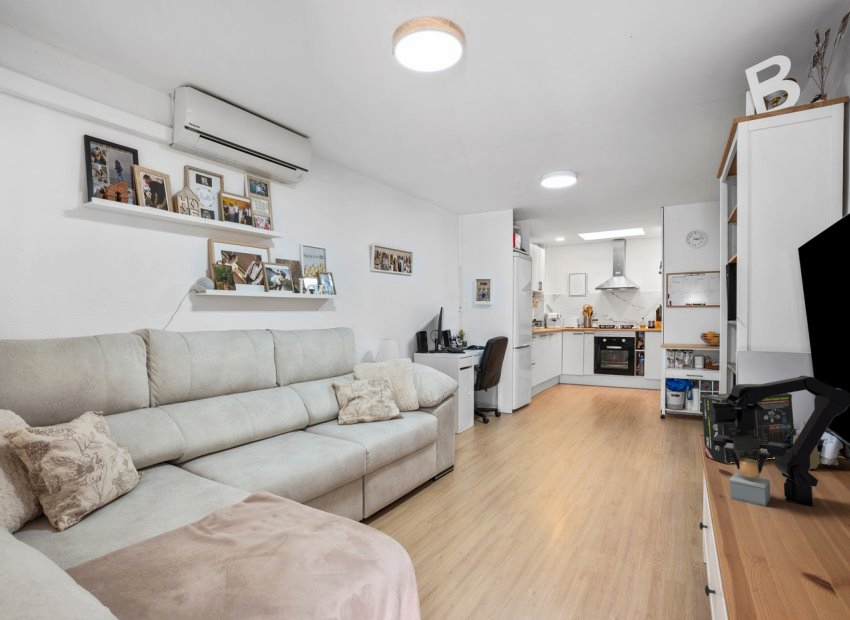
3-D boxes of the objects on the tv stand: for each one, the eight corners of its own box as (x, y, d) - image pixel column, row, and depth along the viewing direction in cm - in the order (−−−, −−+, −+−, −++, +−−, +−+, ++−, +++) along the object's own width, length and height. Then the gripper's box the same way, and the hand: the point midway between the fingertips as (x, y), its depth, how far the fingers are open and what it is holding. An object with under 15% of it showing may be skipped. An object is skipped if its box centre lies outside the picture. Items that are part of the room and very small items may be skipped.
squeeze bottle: (787, 466, 167) (785, 420, 167) (799, 463, 170) (796, 418, 170) (813, 472, 159) (810, 424, 160) (824, 469, 162) (821, 422, 163)
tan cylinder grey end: (761, 474, 139) (760, 460, 139) (758, 478, 135) (757, 464, 135) (741, 470, 143) (740, 457, 143) (738, 475, 139) (737, 461, 139)
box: (770, 498, 139) (769, 481, 139) (765, 506, 132) (764, 489, 133) (737, 490, 145) (736, 474, 145) (731, 498, 139) (730, 481, 139)
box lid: (770, 481, 139) (769, 479, 139) (764, 488, 132) (764, 486, 132) (735, 474, 145) (735, 472, 145) (729, 481, 139) (729, 479, 139)
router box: (772, 450, 187) (769, 389, 188) (798, 457, 176) (794, 393, 177) (702, 456, 182) (698, 394, 183) (724, 465, 171) (720, 398, 172)
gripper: (706, 423, 141) (709, 470, 140) (778, 432, 127) (782, 485, 127) (715, 417, 149) (718, 462, 148) (784, 425, 135) (787, 475, 134)
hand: (749, 470), depth 139 cm, fingers closed on tan cylinder grey end, 5 cm apart
